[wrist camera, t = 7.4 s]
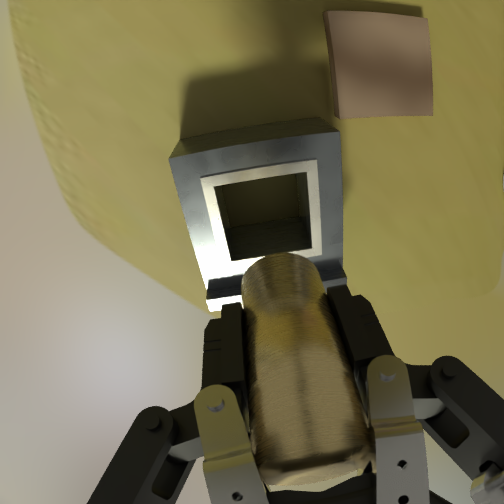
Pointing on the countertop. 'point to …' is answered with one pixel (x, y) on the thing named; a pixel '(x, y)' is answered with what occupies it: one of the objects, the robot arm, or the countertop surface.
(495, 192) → the countertop surface
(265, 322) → the translucent brown rounded cylinder
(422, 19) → the brown square panel
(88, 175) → the countertop surface
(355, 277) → the countertop surface
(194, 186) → the grey square frame
